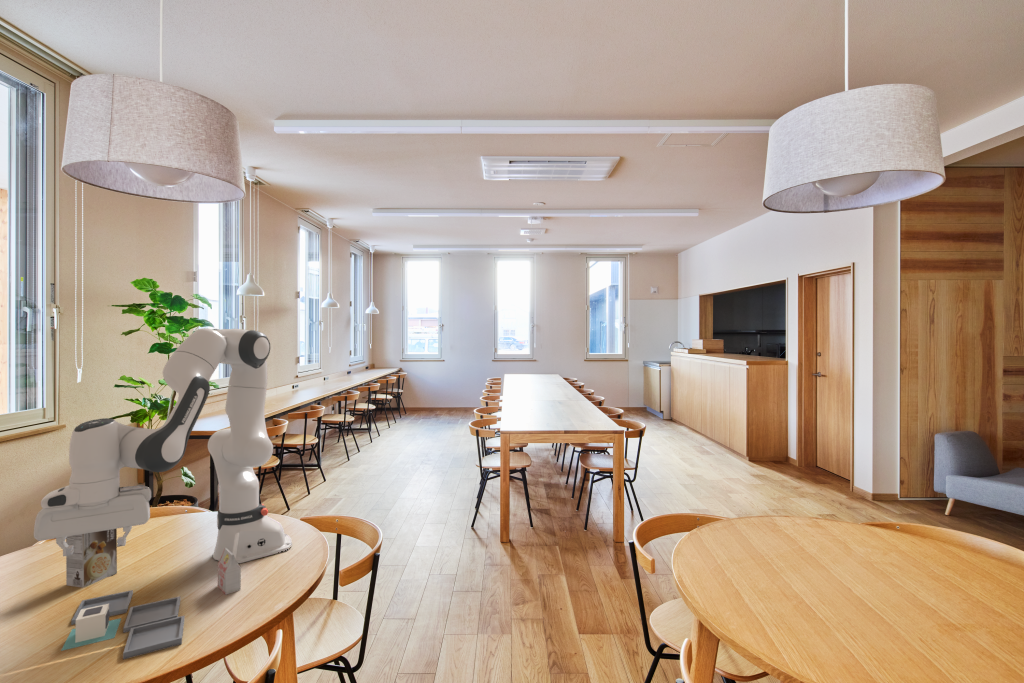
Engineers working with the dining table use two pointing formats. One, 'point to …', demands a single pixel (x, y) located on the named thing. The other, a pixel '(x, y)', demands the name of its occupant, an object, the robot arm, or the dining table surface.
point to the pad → (108, 635)
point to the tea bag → (229, 573)
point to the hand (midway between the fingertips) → (95, 550)
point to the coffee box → (91, 557)
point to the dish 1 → (115, 601)
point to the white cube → (92, 623)
